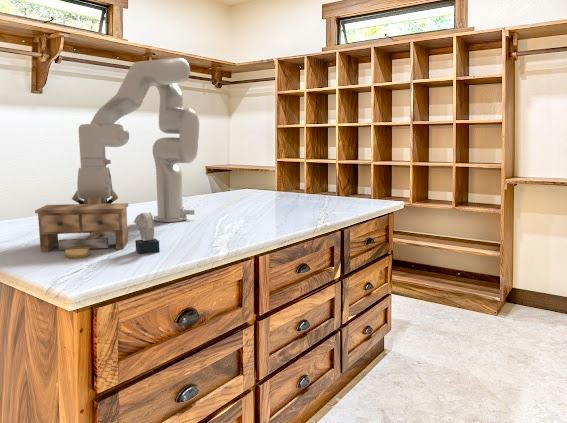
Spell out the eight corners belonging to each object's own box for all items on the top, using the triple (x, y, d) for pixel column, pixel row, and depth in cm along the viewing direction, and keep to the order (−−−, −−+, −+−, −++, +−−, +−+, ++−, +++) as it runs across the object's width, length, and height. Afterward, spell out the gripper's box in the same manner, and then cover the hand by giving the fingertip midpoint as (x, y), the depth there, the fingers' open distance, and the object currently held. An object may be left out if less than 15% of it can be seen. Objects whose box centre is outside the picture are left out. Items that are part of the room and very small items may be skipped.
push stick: (119, 232, 158) (116, 184, 155) (107, 247, 136) (104, 192, 133) (77, 233, 155) (74, 184, 153) (59, 249, 133) (54, 193, 131)
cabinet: (129, 241, 146) (128, 203, 145) (124, 249, 135) (122, 208, 133) (50, 243, 142) (47, 204, 140) (37, 253, 131) (34, 210, 129)
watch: (153, 247, 138) (152, 210, 137) (161, 253, 131) (159, 214, 130) (133, 249, 135) (132, 211, 134) (140, 255, 129) (139, 215, 127)
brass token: (92, 253, 131) (91, 245, 131) (86, 259, 125) (86, 250, 125) (69, 254, 130) (68, 246, 130) (62, 260, 124) (62, 251, 124)
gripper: (122, 162, 156) (125, 217, 159) (68, 163, 153) (72, 218, 156) (119, 163, 149) (122, 221, 152) (62, 164, 146) (66, 223, 149)
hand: (96, 219), depth 154 cm, fingers closed on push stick, 4 cm apart
